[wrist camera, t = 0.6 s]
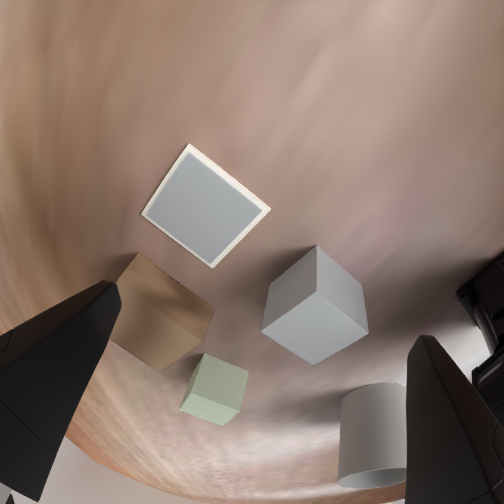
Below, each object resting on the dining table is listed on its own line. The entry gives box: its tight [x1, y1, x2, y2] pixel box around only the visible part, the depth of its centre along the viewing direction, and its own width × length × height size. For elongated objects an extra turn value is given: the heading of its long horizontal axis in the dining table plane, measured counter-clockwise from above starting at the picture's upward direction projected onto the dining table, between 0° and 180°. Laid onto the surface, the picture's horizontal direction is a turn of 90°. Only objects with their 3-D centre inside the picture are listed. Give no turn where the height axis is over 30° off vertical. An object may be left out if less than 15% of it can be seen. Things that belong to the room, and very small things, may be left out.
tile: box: [141, 143, 271, 269], centre depth 21 cm, size 7×7×1 cm
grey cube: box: [260, 245, 369, 365], centre depth 21 cm, size 5×5×5 cm
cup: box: [337, 383, 407, 489], centre depth 27 cm, size 8×8×10 cm
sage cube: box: [179, 353, 249, 426], centre depth 30 cm, size 5×5×5 cm
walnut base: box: [109, 253, 215, 372], centre depth 26 cm, size 8×8×4 cm
